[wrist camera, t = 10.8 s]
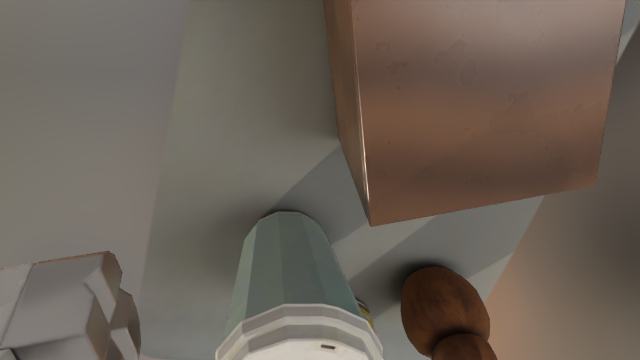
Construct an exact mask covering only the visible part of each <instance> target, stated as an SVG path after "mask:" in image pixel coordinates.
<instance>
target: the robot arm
mask: <svg viewBox="0 0 640 360" xmlns="http://www.w3.org/2000/svg"><path fill="white" fill-rule="evenodd" d="M121 277H122V270H121V268H120V266H119V264H118V261H117V259H116V257H115V255H114V254H112V253H111V252H109V251H105V252H98V253H93V254H86V255H79V256H74V257H67V258H61V259H55V260H48V261H42V262H38V263H30V264H25V265H19V266H13V267H8V268H2V269H0V360H139V355H140V347H141V335H140V322H139V317H138V313H137V309H136V306H135V303H134V301H133V298H132V295H130V294H128V293H127V292H125V291H124V290H122V289H120V283H121Z"/></svg>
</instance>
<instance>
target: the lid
mask: <svg viewBox="0 0 640 360" xmlns="http://www.w3.org/2000/svg"><path fill="white" fill-rule="evenodd" d="M348 5H349V16H350V27H351V38H352V50H353V61H354V72H355V83H356V95H357V106H358V117H359V128H360V140H361V151H362V162H363V173H364V184H365V196H366V207H367V218H368V222H369V225H370V226H371V227H373V226H378V225H384V224H389V223H394V222H400V221H405V220H411V219H416V218H422V217H427V216H433V215H438V214H444V213H449V212H454V211H460V210H465V209H471V208H476V207H482V206H487V205H493V204H498V203H503V202H509V201H514V200H520V199H525V198H531V197H536V196H542V195H547V194H552V193H558V192H563V191H569V190H574V189H580V188H585V187H590V186H594V185H595V184H596V178H597V171H598V165H599V160H600V154H601V148H602V142H603V136H604V129H605V124H606V118H607V112H608V107H609V101H610V95H611V89H612V83H613V77H614V71H615V65H616V59H617V53H618V48H619V42H620V36H621V30H622V24H623V18H624V12H625V6H626V0H348Z"/></svg>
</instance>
